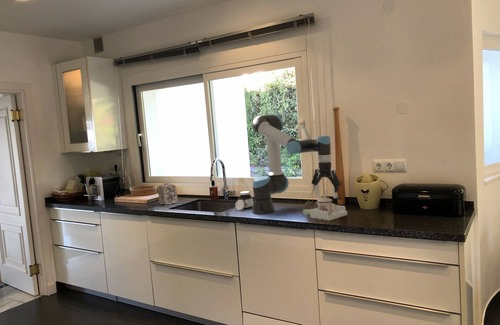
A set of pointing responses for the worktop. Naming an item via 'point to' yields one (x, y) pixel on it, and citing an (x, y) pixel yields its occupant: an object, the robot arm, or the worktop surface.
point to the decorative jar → (167, 193)
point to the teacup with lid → (326, 205)
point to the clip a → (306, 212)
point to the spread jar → (244, 201)
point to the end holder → (324, 214)
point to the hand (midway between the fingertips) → (326, 196)
